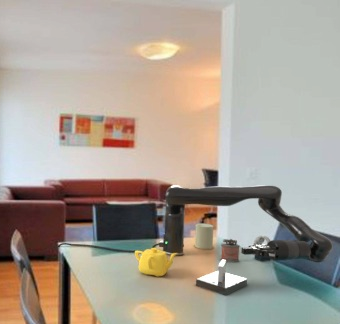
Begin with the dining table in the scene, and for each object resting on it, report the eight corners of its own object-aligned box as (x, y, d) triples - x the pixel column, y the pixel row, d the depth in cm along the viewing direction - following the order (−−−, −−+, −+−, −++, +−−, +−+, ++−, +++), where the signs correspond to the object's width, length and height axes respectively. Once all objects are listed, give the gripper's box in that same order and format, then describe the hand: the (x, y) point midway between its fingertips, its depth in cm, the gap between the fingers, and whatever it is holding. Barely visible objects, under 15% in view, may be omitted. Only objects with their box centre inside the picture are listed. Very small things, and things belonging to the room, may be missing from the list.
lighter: (237, 260, 180) (238, 238, 179) (239, 262, 176) (240, 240, 176) (219, 259, 180) (220, 238, 180) (221, 261, 177) (222, 239, 177)
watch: (260, 256, 187) (261, 234, 186) (273, 261, 179) (274, 237, 179) (251, 257, 185) (252, 234, 184) (264, 262, 177) (265, 238, 177)
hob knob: (222, 282, 141) (222, 265, 141) (217, 281, 142) (218, 265, 142) (225, 275, 149) (226, 259, 149) (221, 275, 150) (221, 259, 149)
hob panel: (226, 295, 135) (226, 288, 135) (195, 285, 145) (195, 278, 145) (247, 285, 146) (248, 278, 146) (217, 276, 156) (217, 270, 155)
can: (192, 244, 206) (192, 222, 206) (208, 244, 207) (209, 222, 207) (198, 249, 197) (199, 226, 197) (215, 249, 198) (216, 226, 197)
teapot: (162, 267, 166) (163, 243, 166) (177, 277, 154) (178, 251, 153) (133, 269, 162) (133, 245, 162) (146, 279, 150) (147, 253, 149)
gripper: (294, 265, 141) (252, 266, 138) (270, 254, 154) (232, 256, 151) (295, 244, 141) (253, 245, 138) (271, 236, 154) (232, 237, 150)
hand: (242, 251), depth 144 cm, fingers closed
